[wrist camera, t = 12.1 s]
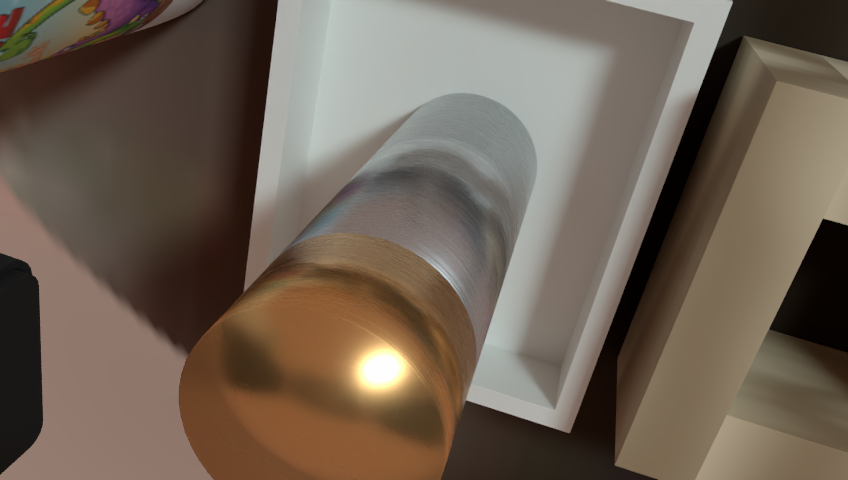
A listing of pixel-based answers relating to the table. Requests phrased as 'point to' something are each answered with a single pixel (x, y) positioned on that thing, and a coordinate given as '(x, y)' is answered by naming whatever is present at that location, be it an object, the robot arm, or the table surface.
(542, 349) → the tray
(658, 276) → the socket block
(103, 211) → the table surface
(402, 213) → the pin
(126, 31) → the milk bottle
